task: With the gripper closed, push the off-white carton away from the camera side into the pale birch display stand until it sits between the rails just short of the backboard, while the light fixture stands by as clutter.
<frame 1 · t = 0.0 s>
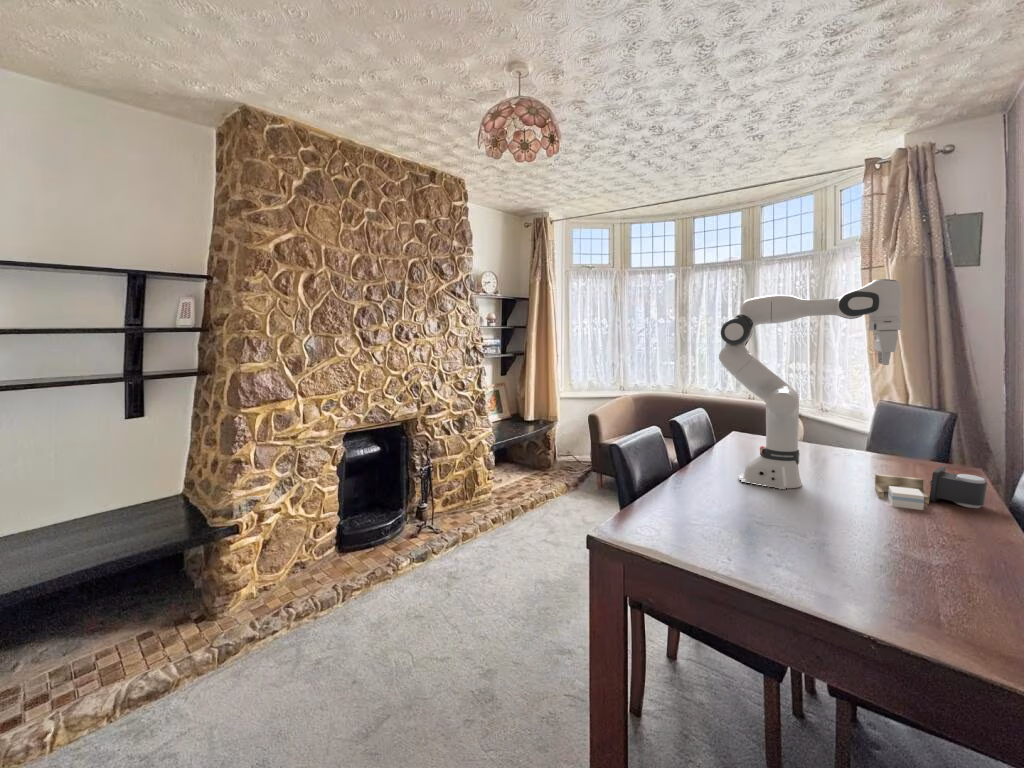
hand: (883, 364, 160), 48 cm above the table, fingers open, 8 cm apart
display stand: (900, 497, 161), on the table
carton: (905, 504, 155), on the table
light fixture: (957, 503, 154), on the table
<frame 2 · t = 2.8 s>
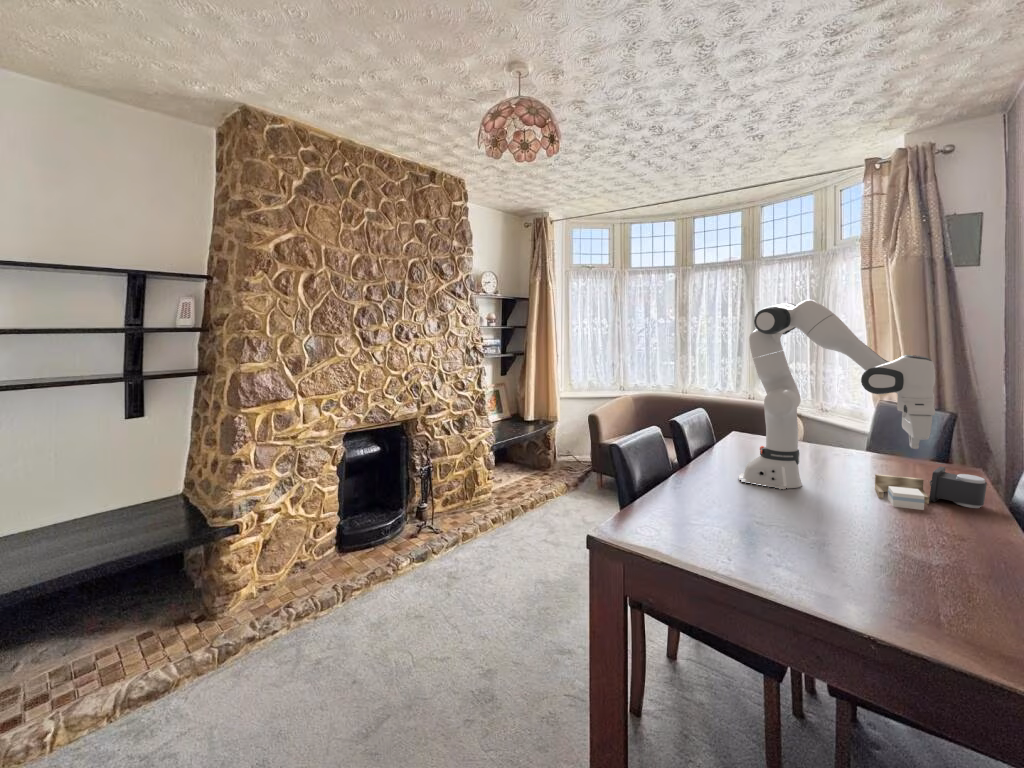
hand: (914, 448, 145), 22 cm above the table, fingers closed
nothing on the table moved.
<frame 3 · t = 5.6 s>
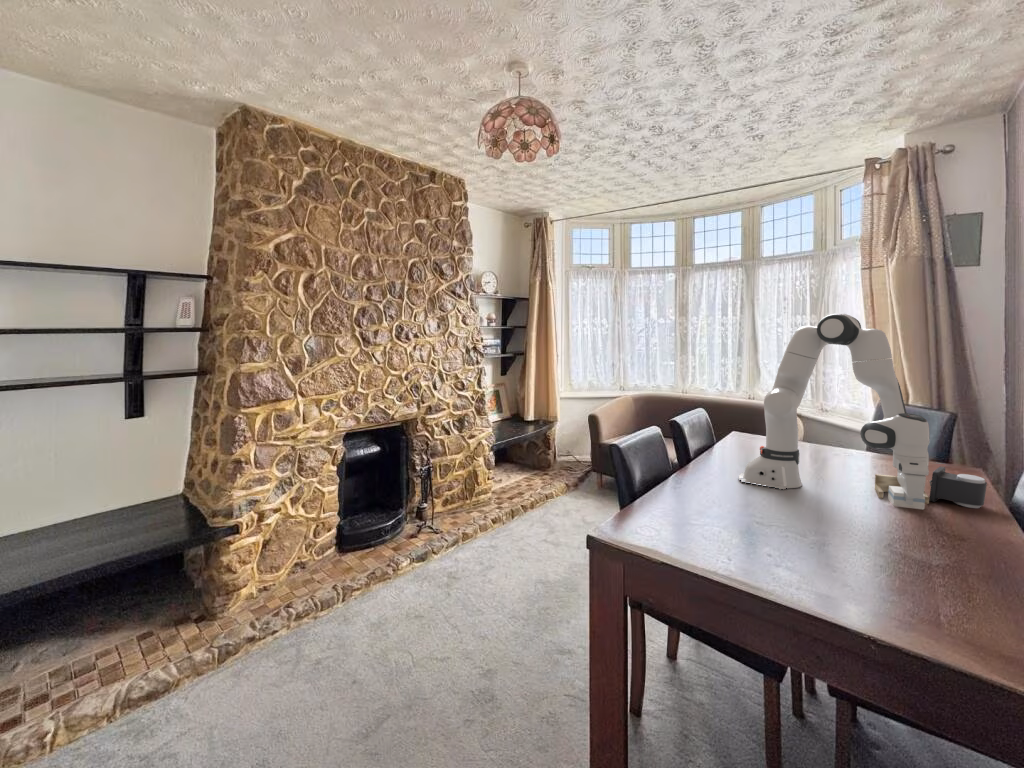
hand: (908, 503, 150), 2 cm above the table, fingers closed
carton: (905, 504, 155), on the table, touching gripper
everything else where it was.
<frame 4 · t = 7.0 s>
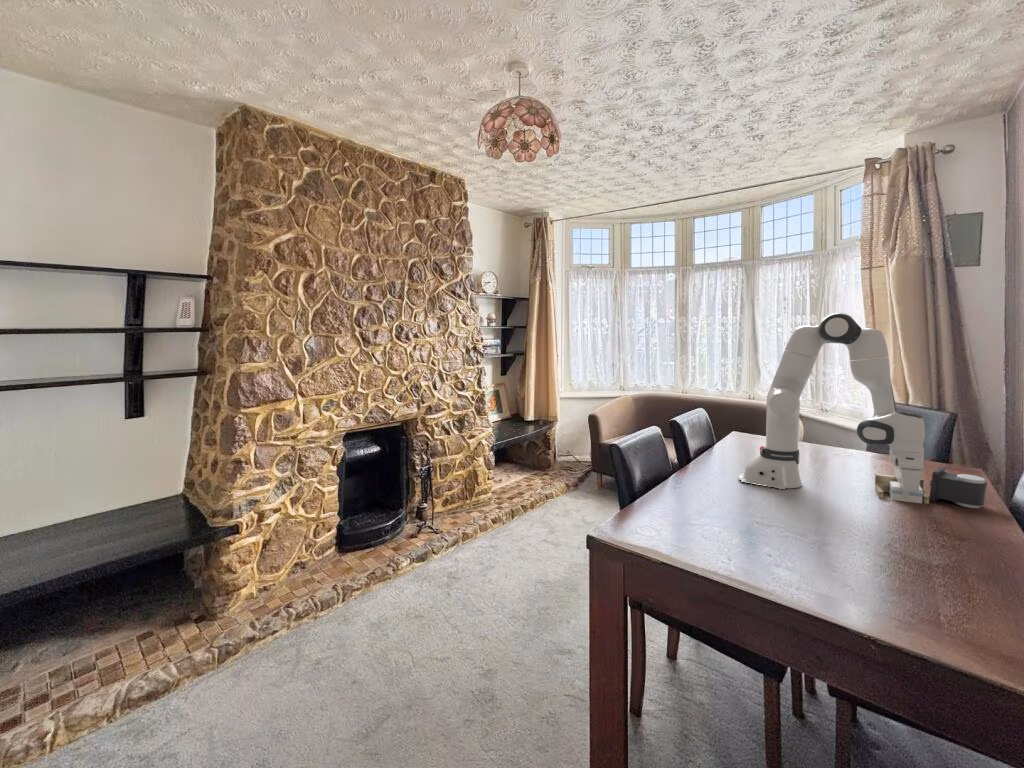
hand: (904, 496, 156), 2 cm above the table, fingers closed
carton: (904, 498, 160), on the table
everything else where it was.
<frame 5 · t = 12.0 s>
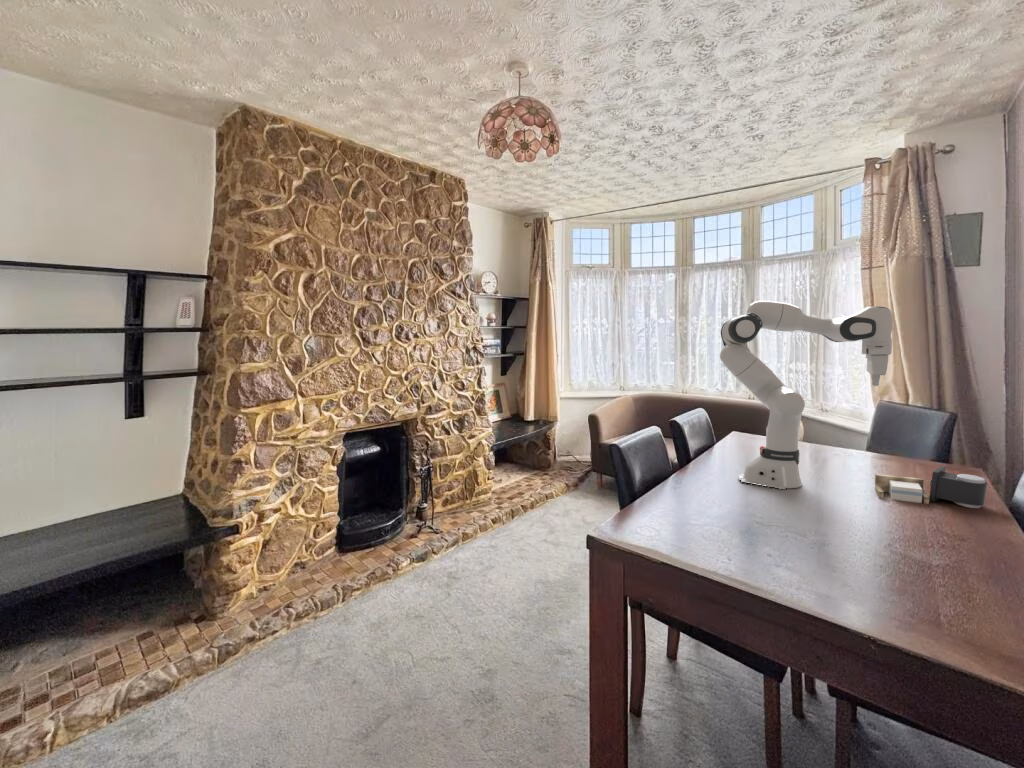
hand: (875, 385, 171), 39 cm above the table, fingers closed
nothing on the table moved.
at the end: carton inside the target area (1.1 cm from its centre), on the table; carton tilted 0° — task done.
